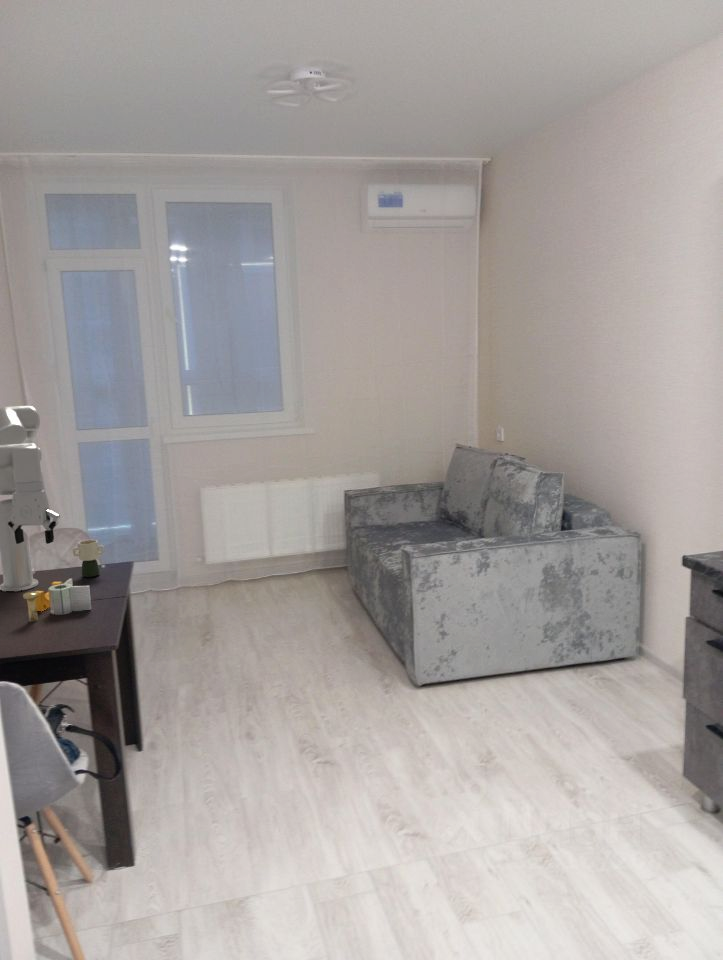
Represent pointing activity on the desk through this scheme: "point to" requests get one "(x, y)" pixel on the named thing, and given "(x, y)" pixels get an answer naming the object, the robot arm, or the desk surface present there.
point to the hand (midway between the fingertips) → (34, 542)
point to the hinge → (69, 598)
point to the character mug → (89, 556)
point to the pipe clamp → (44, 599)
